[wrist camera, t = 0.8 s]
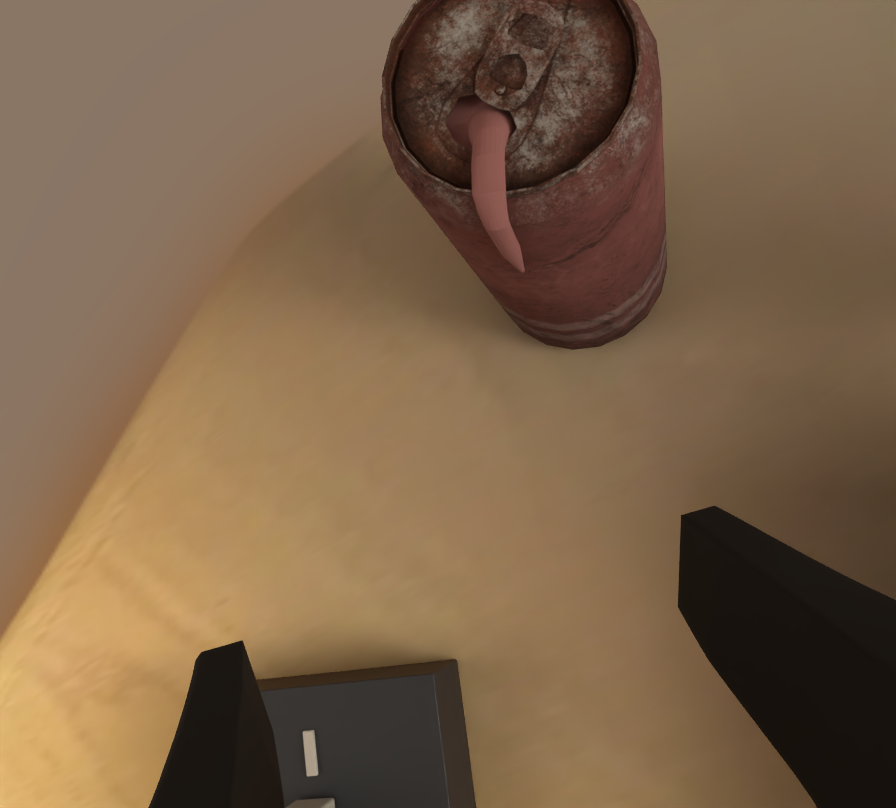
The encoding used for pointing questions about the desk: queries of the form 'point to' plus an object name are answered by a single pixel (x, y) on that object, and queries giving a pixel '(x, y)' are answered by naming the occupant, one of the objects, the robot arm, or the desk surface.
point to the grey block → (313, 803)
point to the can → (537, 154)
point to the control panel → (373, 736)
